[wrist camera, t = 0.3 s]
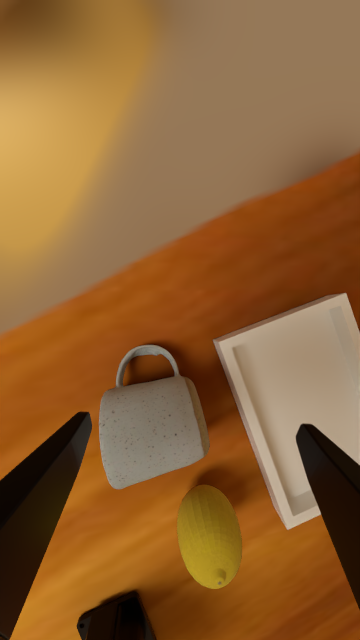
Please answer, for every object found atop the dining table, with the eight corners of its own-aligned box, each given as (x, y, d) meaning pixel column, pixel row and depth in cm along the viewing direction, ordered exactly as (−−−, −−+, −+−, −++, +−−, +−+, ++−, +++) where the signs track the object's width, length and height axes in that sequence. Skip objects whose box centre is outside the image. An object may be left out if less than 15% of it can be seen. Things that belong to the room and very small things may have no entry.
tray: (383, 458, 25) (408, 473, 22) (274, 507, 24) (287, 529, 21) (327, 295, 24) (345, 292, 22) (212, 339, 23) (218, 342, 21)
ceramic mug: (202, 430, 23) (221, 484, 16) (128, 451, 23) (109, 517, 15) (180, 335, 23) (188, 341, 15) (104, 353, 23) (74, 369, 15)
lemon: (167, 508, 23) (168, 609, 15) (186, 459, 23) (198, 534, 15) (214, 524, 23) (240, 631, 15) (233, 476, 23) (268, 557, 15)
